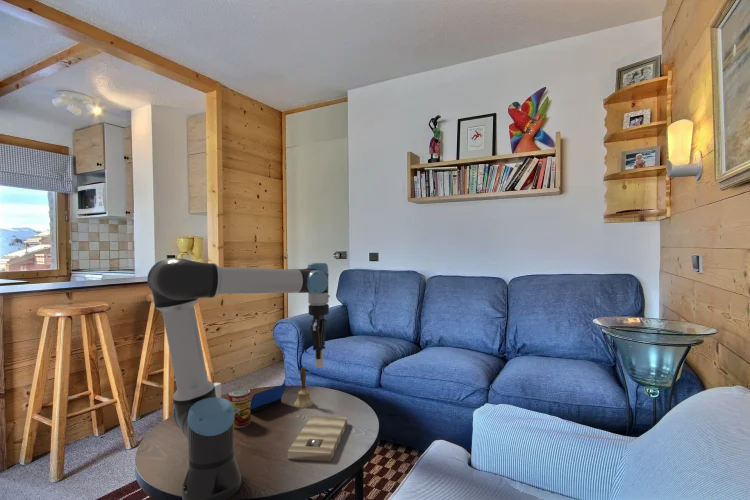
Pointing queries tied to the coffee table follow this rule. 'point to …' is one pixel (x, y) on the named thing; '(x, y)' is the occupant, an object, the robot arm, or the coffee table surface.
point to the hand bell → (303, 393)
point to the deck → (318, 438)
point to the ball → (315, 443)
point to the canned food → (240, 407)
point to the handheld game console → (266, 398)
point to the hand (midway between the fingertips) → (319, 366)
